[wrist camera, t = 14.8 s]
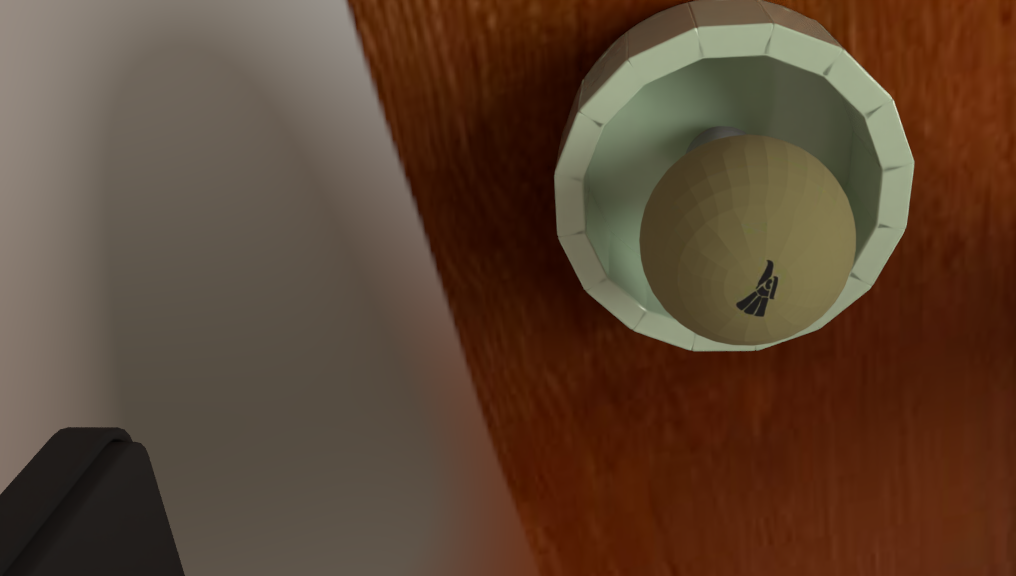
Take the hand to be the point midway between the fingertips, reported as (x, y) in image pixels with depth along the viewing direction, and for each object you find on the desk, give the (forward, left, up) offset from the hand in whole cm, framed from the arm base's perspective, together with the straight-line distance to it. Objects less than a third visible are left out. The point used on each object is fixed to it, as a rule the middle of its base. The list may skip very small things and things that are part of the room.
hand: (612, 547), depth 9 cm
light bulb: (+3, -4, -24) cm, 24 cm away
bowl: (+3, -4, -24) cm, 25 cm away
